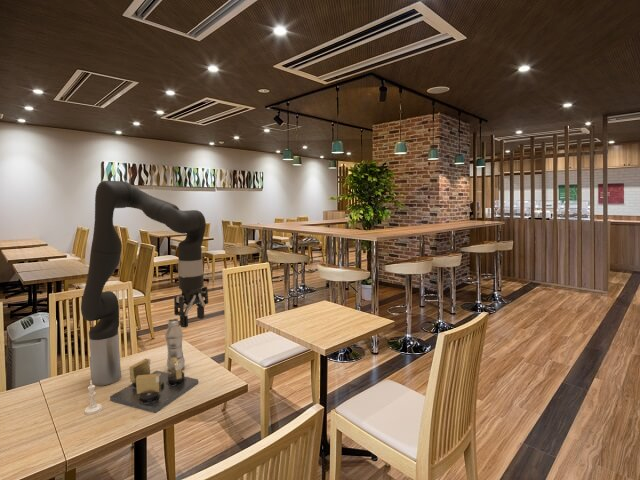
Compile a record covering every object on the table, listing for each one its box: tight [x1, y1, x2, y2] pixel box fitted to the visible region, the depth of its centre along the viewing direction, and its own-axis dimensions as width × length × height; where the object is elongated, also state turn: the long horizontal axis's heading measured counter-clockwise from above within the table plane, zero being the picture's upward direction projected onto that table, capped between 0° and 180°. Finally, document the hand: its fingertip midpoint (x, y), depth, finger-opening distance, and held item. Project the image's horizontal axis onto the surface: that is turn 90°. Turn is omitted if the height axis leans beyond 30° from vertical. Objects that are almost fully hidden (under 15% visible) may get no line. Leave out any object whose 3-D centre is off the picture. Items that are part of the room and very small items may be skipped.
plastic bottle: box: [164, 318, 185, 371], centre depth 145 cm, size 6×7×20 cm
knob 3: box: [168, 357, 186, 384], centre depth 133 cm, size 7×6×8 cm
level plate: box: [109, 370, 199, 413], centre depth 129 cm, size 20×20×3 cm
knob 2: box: [136, 373, 161, 402], centre depth 122 cm, size 7×6×8 cm
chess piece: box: [84, 379, 103, 416], centre depth 118 cm, size 5×5×10 cm
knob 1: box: [128, 358, 151, 387], centre depth 132 cm, size 7×6×8 cm
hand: (192, 322), depth 119 cm, fingers open, 8 cm apart
